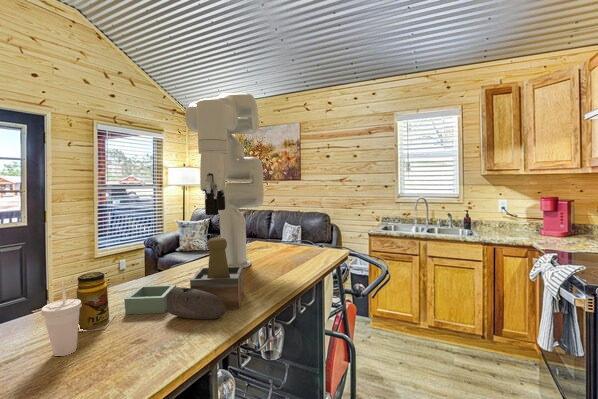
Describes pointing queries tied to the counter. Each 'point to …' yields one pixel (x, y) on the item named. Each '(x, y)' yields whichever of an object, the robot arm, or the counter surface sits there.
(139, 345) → the counter surface
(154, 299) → the shaker holder
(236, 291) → the gray open box
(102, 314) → the condiment
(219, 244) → the tan rounded piece
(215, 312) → the perforated stone tool
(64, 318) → the smoothie
